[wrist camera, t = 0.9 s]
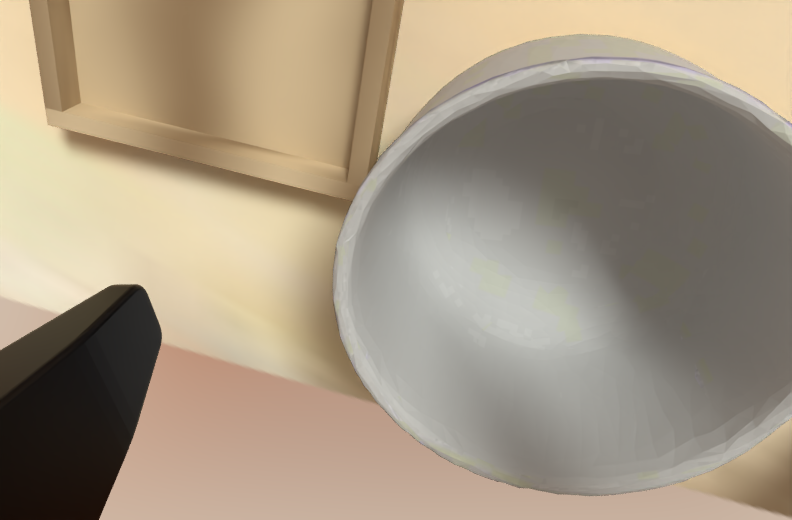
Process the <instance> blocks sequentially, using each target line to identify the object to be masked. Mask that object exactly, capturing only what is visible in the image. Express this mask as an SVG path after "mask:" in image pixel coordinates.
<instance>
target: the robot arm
mask: <svg viewBox="0 0 792 520" xmlns="http://www.w3.org/2000/svg"><path fill="white" fill-rule="evenodd" d="M161 340H162V333H161V328H160V325H159V322H158V320H157V317H156V315H155V312H154V309H153V307H152V304H151V302H150V299H149V297H148V294H147V292H146V290H145V289H144V288H143V287H142V286H140V285H136V284H131V285H111V286H109V287H107V288H105V289H104V290H102V291H100V292H99V293H97V294H95V295H93V296H92V297H90V298H88V299H87V300H85V301H83V302H82V303H80V304H78V305H76V306H75V307H73V308H71V309H70V310H68V311H66V312H64V313H63V314H61V315H59V316H58V317H56V318H54V319H53V320H51V321H49V322H47V323H46V324H44V325H42V326H41V327H39V328H37V329H36V330H34V331H32V332H30V333H29V334H27V335H25V336H24V337H22V338H21V339H19V340H17V341H16V342H14V343H12V344H10V345H8V346H7V347H5V348H3V349H2V350H0V520H99V518H100V516H101V513H102V511H103V508H104V506H105V504H106V501H107V499H108V497H109V494H110V492H111V489H112V487H113V485H114V482H115V480H116V477H117V475H118V473H119V470H120V468H121V466H122V463H123V461H124V459H125V456H126V454H127V451H128V449H129V446H130V444H131V441H132V438H133V435H134V433H135V429H136V427H137V424H138V420H139V417H140V413H141V410H142V407H143V403H144V400H145V397H146V393H147V390H148V386H149V383H150V380H151V376H152V373H153V369H154V366H155V363H156V359H157V356H158V353H159V349H160V346H161Z"/></svg>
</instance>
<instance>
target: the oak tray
mask: <svg viewBox="0 0 792 520" xmlns="http://www.w3.org/2000/svg"><path fill="white" fill-rule="evenodd" d="M29 3H30V10H31V17H32V23H33V30H34V36H35V43H36V50H37V56H38V63H39V69H40V76H41V83H42V89H43V96H44V103H45V109H46V116H47V122H48V125H51V126H55V127H59V128H63V129H67V130H70V131H74V132H78V133H82V134H86V135H90V136H94V137H98V138H102V139H106V140H110V141H114V142H118V143H122V144H126V145H130V146H134V147H138V148H142V149H146V150H150V151H154V152H158V153H162V154H166V155H170V156H174V157H178V158H182V159H186V160H190V161H194V162H198V163H202V164H206V165H210V166H214V167H218V168H222V169H226V170H230V171H234V172H238V173H242V174H246V175H250V176H254V177H258V178H262V179H266V180H269V181H273V182H277V183H281V184H285V185H289V186H293V187H297V188H301V189H305V190H309V191H313V192H317V193H321V194H325V195H329V196H333V197H337V198H341V199H345V200H349V201H353V199H354V197H355V195H356V193H357V191H358V189H359V187H360V185H361V183H362V182H363V180H364V179H365V178H366V176H367V175H368V173H369V172H370V170H371V169H372V168H373V166H374V165H375V164H376V162H377V157H378V151H379V145H380V140H381V134H382V128H383V122H384V116H385V110H386V104H387V98H388V92H389V86H390V80H391V74H392V68H393V62H394V57H395V51H396V45H397V39H398V33H399V27H400V21H401V15H402V9H403V3H404V0H29Z"/></svg>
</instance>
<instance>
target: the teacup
mask: <svg viewBox="0 0 792 520" xmlns="http://www.w3.org/2000/svg"><path fill="white" fill-rule="evenodd" d="M333 302H334V309H335V315H336V320H337V325H338V329H339V334H340V338H341V340H342V343H343V345H344V348H345V350H346V353H347V355H348V357H349V359H350V361H351V363H352V365H353V367H354V369H355V372H356V373H357V375H358V376H359V377H360V379H361V381H362V383H363V385H364V386H365V387H366V388H367V390H368V391H369V392H370V393H371V395H372V396H373V398H374V399H375V401H376V402H377V403H378V404H379V405H380V406H381V407H382V408H383V409H384V410H385V412H386V413H387V414H388V415H389V416H390V417H391V418H392V419H393V420H394V421H395V422H396V423H397V424H398V425H399V426H400V427H401V428H402V429H403V430H404V431H406V432H408V433H409V434H410V435H411V436H412V437H413V438H415V439H416V440H417V441H418V442H419V443H421V444H422V445H424V446H426V447H427V448H429V449H431V450H432V451H433V452H435V453H436V454H437V455H439V456H440V457H442V458H444V459H446V460H448V461H449V462H451V463H453V464H454V465H457V466H460V467H463V468H465V469H467V470H469V471H471V472H473V473H475V474H477V475H480V476H483V477H485V478H488V479H491V480H494V481H497V482H503V483H506V484H509V485H512V486H515V487H518V488H530V489H535V490H539V491H544V492H549V493H555V494H568V495H583V496H600V495H601V496H602V495H616V494H624V493H631V492H639V491H645V490H650V489H656V488H660V487H664V486H668V485H672V484H676V483H679V482H683V481H686V480H688V479H690V478H692V477H695V476H698V475H701V474H703V473H706V472H709V471H712V470H714V469H716V468H718V467H720V466H722V465H724V464H726V463H728V462H730V461H731V460H733V459H735V458H737V457H738V456H740V455H742V454H744V453H745V452H747V451H748V450H750V449H751V448H752V447H754V446H755V445H757V444H758V443H759V442H761V441H762V440H763V439H765V438H766V437H767V436H769V435H770V434H771V433H773V432H774V431H775V430H776V429H777V428H778V427H780V426H781V425H782V424H784V423H785V422H786V421H788V420H789V419H790V418H791V417H792V124H791V123H790V122H789V121H787V120H786V119H784V118H783V117H781V116H780V115H778V114H777V113H775V112H774V111H773V110H772V109H770V108H769V107H768V106H767V105H766V104H764V103H763V102H762V101H760V100H758V99H757V98H755V97H753V96H751V95H750V94H748V93H746V92H745V91H743V90H741V89H740V88H737V87H735V86H733V85H731V84H728V83H726V82H724V81H722V80H720V79H718V78H716V77H715V76H713V75H712V74H710V73H709V72H707V71H706V70H704V69H702V68H700V67H698V66H697V65H695V64H693V63H691V62H689V61H687V60H685V59H683V58H681V57H679V56H677V55H675V54H673V53H671V52H668V51H666V50H664V49H661V48H659V47H656V46H653V45H650V44H646V43H643V42H639V41H635V40H631V39H627V38H621V37H615V36H608V35H588V34H577V35H567V36H557V37H549V38H544V39H539V40H534V41H529V42H526V43H523V44H520V45H517V46H514V47H511V48H508V49H505V50H503V51H500V52H498V53H496V54H494V55H492V56H490V57H488V58H485V59H483V60H482V61H480V62H479V63H477V64H475V65H474V66H472V67H470V68H469V69H467V70H466V71H464V72H463V73H461V74H460V75H458V76H457V77H456V78H454V79H453V80H452V81H450V82H449V83H448V84H447V85H446V86H444V87H443V88H442V89H441V90H440V91H439V92H438V93H437V94H436V95H435V96H434V97H433V98H432V99H431V100H430V101H429V102H428V103H427V104H426V105H425V106H424V107H423V108H422V109H421V111H420V112H419V113H418V114H417V115H416V116H415V117H414V119H413V120H412V121H411V122H410V124H409V125H408V126H407V128H406V129H405V130H404V132H403V133H402V134H401V135H400V136H399V137H398V138H397V139H396V140H395V141H394V142H393V143H392V144H391V145H390V146H389V147H388V148H387V150H386V151H385V152H384V153H383V154H382V155H381V156H380V157H379V159H378V161H377V162H376V164H375V165H374V166H373V168H372V169H371V170H370V172H369V173H368V175H367V176H366V178H365V179H364V180H363V182H362V183H361V185H360V187H359V189H358V191H357V193H356V195H355V197H354V199H353V201H352V203H351V205H350V208H349V210H348V212H347V214H346V217H345V219H344V222H343V225H342V228H341V231H340V234H339V237H338V241H337V244H336V251H335V259H334V267H333Z"/></svg>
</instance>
